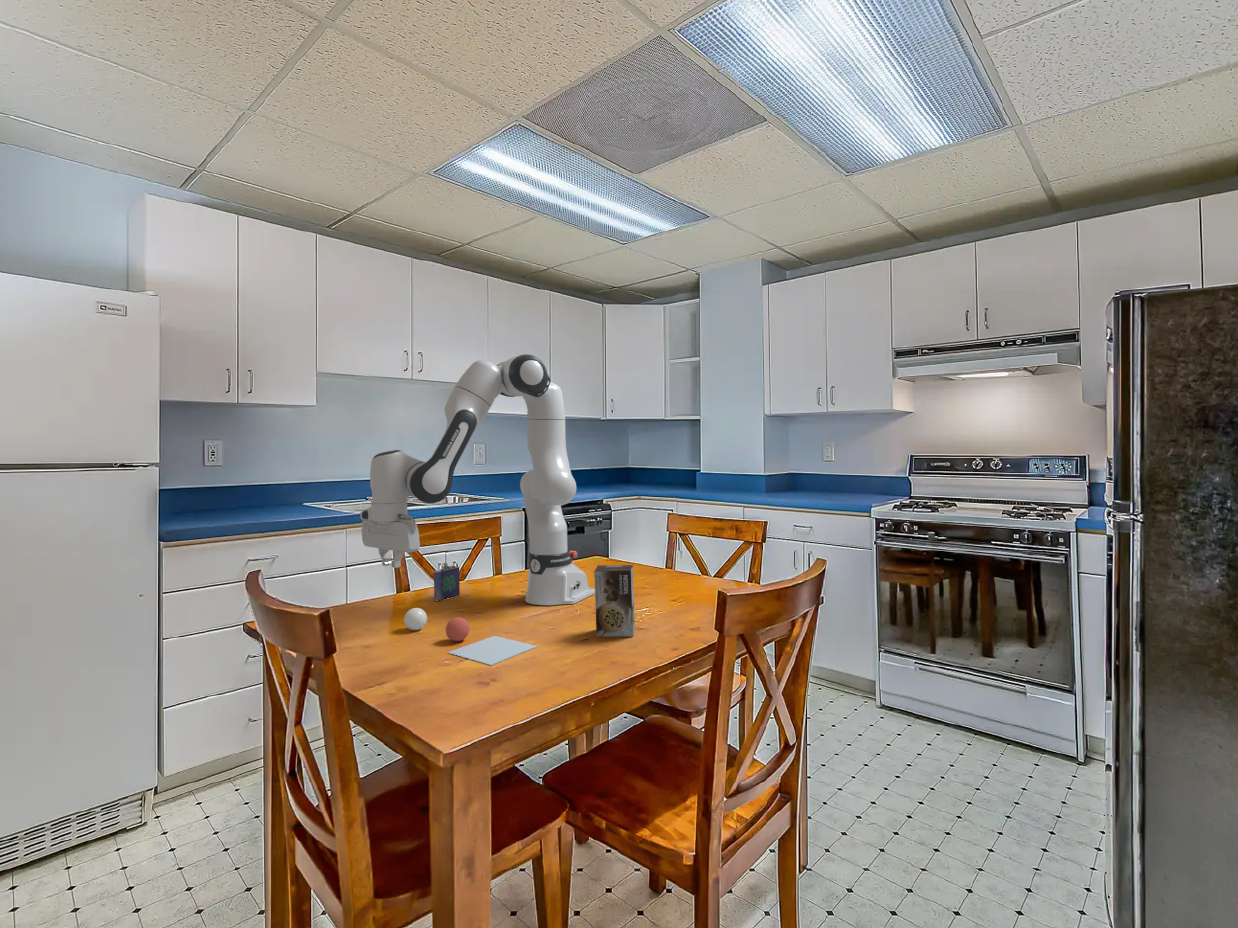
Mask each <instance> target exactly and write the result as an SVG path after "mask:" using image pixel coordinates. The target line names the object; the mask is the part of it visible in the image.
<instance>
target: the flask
mask: <svg viewBox="0 0 1238 928" xmlns="http://www.w3.org/2000/svg"><path fill="white" fill-rule="evenodd" d="M460 586H461V585H460V567H459V566H458V565H457V566H456V565H450V566H449V564H448V563H447V562H444V563H442V569H438V570H437V569H436V570H434V571H433V592H434V593H433V600H438V602H440V601H439V600H443V599H447V598H450V599H452V598H451V597H454V598H456V597H455V596H457V597H460V596H459V595H460V594H461V593H460ZM447 600H448V599H447ZM443 601H444V600H443Z"/></svg>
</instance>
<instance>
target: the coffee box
mask: <svg viewBox="0 0 1238 928" xmlns="http://www.w3.org/2000/svg"><path fill="white" fill-rule="evenodd" d="M593 573H594V575H593V576H594V579H593V580H594V589H595V593H594V600H595V601H594V602H595V637H597V638H599V637H603V638H604V637H605V638H606V637H621V638H622V637H624V638H625V637H634V635H635V630H636V626H635V625H636V624H635V595H634V594H635V593H634V591H635V590H634V588H635V587H634V565H633V564H611V565H610V564H609V565H608V564H607V565H605V564H603V565H600V564H599V565H596V567H595V569H594V571H593Z"/></svg>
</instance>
